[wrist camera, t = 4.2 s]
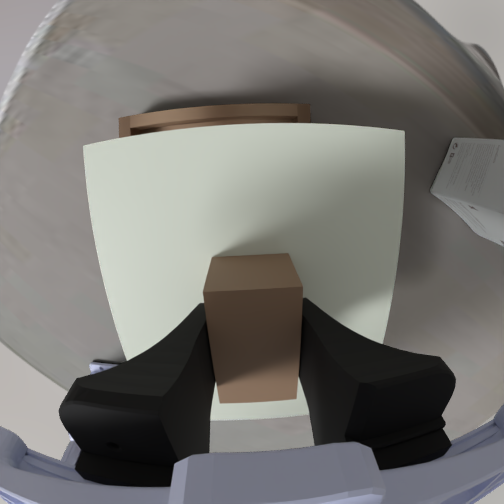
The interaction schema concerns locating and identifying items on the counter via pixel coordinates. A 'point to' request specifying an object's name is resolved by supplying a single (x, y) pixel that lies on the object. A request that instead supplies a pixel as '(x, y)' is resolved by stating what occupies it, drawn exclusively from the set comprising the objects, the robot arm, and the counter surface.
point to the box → (213, 117)
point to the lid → (248, 243)
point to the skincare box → (474, 184)
